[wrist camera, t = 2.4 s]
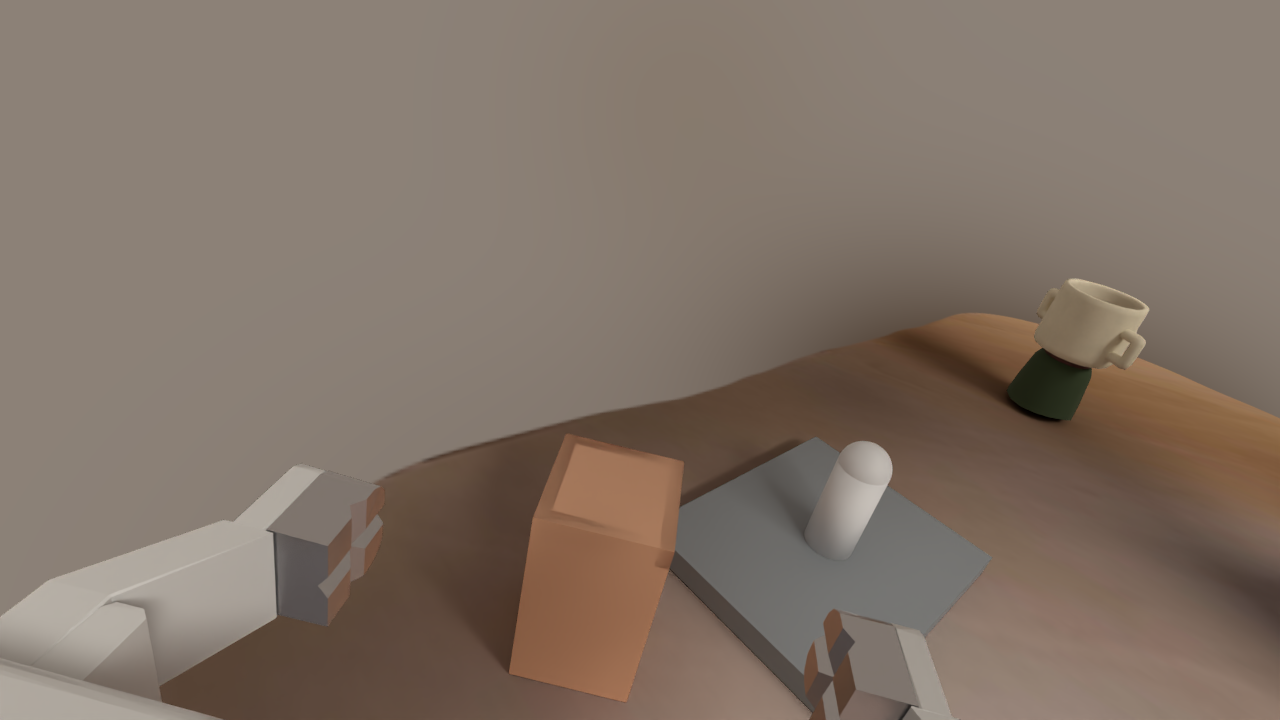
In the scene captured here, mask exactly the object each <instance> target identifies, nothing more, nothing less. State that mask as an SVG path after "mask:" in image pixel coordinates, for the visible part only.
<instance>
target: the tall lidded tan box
mask: <svg viewBox="0 0 1280 720" xmlns="http://www.w3.org/2000/svg"><path fill="white" fill-rule="evenodd" d="M683 468H684V462H683V461H679V460H675V459H671V458H667V457H663V456H659V455H654V454H650V453H646V452H642V451H638V450H634V449H630V448H625V447H621V446H617V445H613V444H609V443H605V442H601V441H596V440H592V439H588V438H584V437H580V436H576V435H572V434H568V433H566V435H565V438H564V440H563V443H562V445H561V448H560V450H559V453H558V455H557V458H556V460H555V463H554V465H553V468H552V470H551V473H550V476H549V478H548V481H547V483H546V486H545V488H544V491H543V493H542V496H541V498H540V501H539V503H538V506H537V508H536V511H535V513H534V516H533V520H532V526H531V533H530V539H529V546H528V552H527V559H526V565H525V572H524V578H523V585H522V591H521V598H520V604H519V611H518V617H517V624H516V630H515V637H514V643H513V650H512V656H511V662H510V669H509V674H512V675H516V676H520V677H524V678H528V679H532V680H536V681H540V682H544V683H548V684H552V685H557V686H561V687H565V688H569V689H573V690H577V691H581V692H585V693H589V694H593V695H597V696H601V697H605V698H609V699H613V700H617V701H621V702H625V703H626V702H627V699H628V696H629V693H630V690H631V687H632V683H633V680H634V677H635V674H636V671H637V668H638V665H639V662H640V659H641V655H642V652H643V649H644V646H645V643H646V640H647V637H648V634H649V630H650V627H651V624H652V621H653V618H654V615H655V612H656V609H657V606H658V602H659V599H660V596H661V593H662V590H663V587H664V584H665V581H666V578H667V574H668V571H669V568H670V565H671V562H672V559H673V556H674V553H675V544H676V535H677V525H678V516H679V506H680V497H681V487H682V478H683Z"/></svg>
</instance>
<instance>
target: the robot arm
mask: <svg viewBox="0 0 1280 720" xmlns="http://www.w3.org/2000/svg"><path fill="white" fill-rule="evenodd" d="M384 504H385V489H383V488H382V487H381V486H378V485H375V484H372V483H368V482H364V481H361V480H358V479H354V478H351V477H348V476H345V475H341V474H338V473H334V472H331V471H325V470H322V469H319V468H315V467H312V466H308V465H306V464H302V463H301V464H298V465H295V466H293V467H291V468H290V469H289V470H288V471H287V472H286V473H285V474H284V475H283V476H281V477H280V478H279V479H278V480H277V481H276V482H275V483H274V484H273V485H272V486H271V487H270V488H269V489H267V490H266V491H265V492H264V493H263V494H262V495H261V496H260V497H259V498H258V499H257V500H256V501H254V503H252V504H251V505H250V506H249V507H248V508H247V509H246V510H245V511H244V512H243V513H242V514H240V515H239V516H238V517H237V518H236V519H235V520H234V521H233V522H231V521H227V520H222V521H219V522H216V523H213V524H210V525H207V526H204V527H201V528H199V529H196V530H192V531H190V532H187V533H184V534H181V535H178V536H175V537H172V538H170V539H166V540H163V541H160V542H158V543H155V544H152V545H149V546H146V547H143V548H140V549H137V550H134V551H132V552H129V553H125V554H123V555H120V556H117V557H114V558H111V559H108V560H105V561H103V562H99V563H96V564H93V565H90V566H88V567H85V568H82V569H79V570H76V571H73V572H70V573H67V574H64V575H61V576H58V577H56V578H53V579H50V580H48V581H46V582H45V583H44V584H42V585H41V586H40V587H39V588H37V589H36V590H35V591H33V592H32V593H31V594H29V595H28V596H27V597H25V598H24V599H23V600H21V601H20V602H19V603H18V604H16V605H15V606H14V607H12V608H11V609H10V610H8V611H7V612H6V613H4V614H3V615H2V616H0V720H224V719H221V718H217V717H213V716H210V715H206V714H203V713H199V712H195V711H192V710H188V709H184V708H181V707H177V706H173V705H170V704H166V703H162V698H161V693H160V688H159V686H161V685H163V684H164V683H166V682H168V681H169V680H171V679H173V678H175V677H176V676H178V675H180V674H181V673H183V672H185V671H187V670H188V669H190V668H192V667H193V666H195V665H197V664H198V663H200V662H202V661H204V660H205V659H207V658H209V657H210V656H212V655H214V654H216V653H217V652H219V651H221V650H222V649H224V648H226V647H227V646H229V645H231V644H233V643H234V642H236V641H238V640H239V639H241V638H243V637H245V636H246V635H248V634H250V633H251V632H253V631H255V630H257V629H258V628H260V627H262V626H263V625H265V624H267V623H268V622H270V621H272V620H274V619H275V618H277V615H281V616H285V617H290V618H294V619H298V620H302V621H306V622H310V623H314V624H319V625H323V626H327V627H328V625H329V624H330V622H331V621H332V620H333V618H334V617H335V615H336V614H337V613H338V611H339V610H340V608H341V607H342V606H343V604H344V603H345V601H346V600H347V599H348V597H349V596H350V582H352V581H354V580H356V579H358V578H360V577H362V576H364V574H365V573H366V572H367V570H368V569H369V567H370V566H371V564H372V563H373V560H374V558H375V556H376V554H377V551H378V549H379V547H380V543H381V539H382V535H383V522H382V521H381V519H380V517H379V516H378V512H379V511H380V510H381V508H382V507H383V506H384ZM823 625H824V632H825V635H823V636H821V637H819V638H817V639H815V640H814V641H813V643H812V645H811V647H810V650H809V652H808V654H807V659H806V664H805V669H804V686H805V695H806V697H807V698H808V700H809V701H810V703H811V704H812V706H813V707H814V708H815V710H814V712H813V714H812V716H811V717H810V719H809V720H960V719H957V718H953V717H952V714H951V711H950V709H949V706H948V703H947V700H946V697H945V694H944V692H943V689H942V686H941V683H940V680H939V677H938V675H937V672H936V669H935V666H934V663H933V661H932V658H931V655H930V652H929V649H928V646H927V644H926V641H925V638H924V636H923V634H922V633H921V632H920V631H919V630H916V629H913V628H909V627H905V626H901V625H897V624H893V623H887V622H884V621H880V620H877V619H873V618H869V617H865V616H861V615H857V614H854V613H850V612H846V611H842V610H838V609H833V610H832V611H830V612H829V613H828V615H827V617H826V618H825V620H824V622H823Z"/></svg>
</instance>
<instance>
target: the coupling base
mask: <svg viewBox="0 0 1280 720" xmlns="http://www.w3.org/2000/svg"><path fill="white" fill-rule="evenodd" d="M892 469H893V468H892V462H891V459H890V457H889V455H888V454H887V452H886V451H885V450H884V449H883V448H882V447H880V446H879V445H877V444H875V443H873V442H869V441H857V442H854V443H851V444H849V445H848V446H846V447H845V448H844V449H843V450H842V451H841V453H839V452H838V451H836V450H835V449H833V448H832V447H831V446H829V445H828V444H826V443H825V442H823V441H822V440H820V439H819V438H817V437H814V438H812V439H810V440H808V441H806V442H804V443H802V444H801V445H799V446H797V447H795V448H793V449H791V450H789V451H787V452H785V453H783V454H781V455H779V456H777V457H775V458H774V459H772V460H770V461H768V462H766V463H764V464H762V465H760V466H758V467H756V468H754V469H752V470H750V471H749V472H747V473H745V474H743V475H741V476H739V477H737V478H735V479H733V480H731V481H729V482H727V483H725V484H723V485H722V486H720V487H718V488H716V489H714V490H712V491H710V492H708V493H706V494H704V495H702V496H700V497H698V498H697V499H695V500H693V501H691V502H689V503H687V504H685V505H683V506H681V507H679V516H678V525H677V535H676V544H675V553H674V556H673V559H672V562H671V565H670V569H671V570H672V571H673V572H674V573H675V574H676V575H677V576H678V577H679V578H680V579H681V580H682V581H683V582H684V583H685V584H686V585H687V586H688V587H689V588H690V589H691V590H692V591H693V592H694V593H695V594H696V595H697V596H698V597H699V598H700V599H701V600H702V601H703V602H704V603H705V604H706V605H707V606H708V607H709V608H710V609H711V610H712V611H713V612H714V613H715V615H716V616H717V617H718V618H719V619H720V620H721V621H722V622H723V623H724V624H725V625H726V626H727V627H728V628H729V629H730V630H731V631H732V632H733V633H734V634H735V635H736V636H737V637H738V638H739V639H740V640H741V641H742V642H743V643H744V644H745V645H746V646H747V647H748V648H749V649H750V650H751V651H752V652H753V653H754V654H755V655H756V656H757V657H758V658H759V659H760V660H761V661H762V662H763V663H764V664H765V665H766V666H767V667H768V668H769V669H770V670H771V671H772V672H773V673H774V674H775V675H776V676H777V677H778V678H779V679H780V680H781V681H782V682H783V683H784V684H785V685H786V686H787V687H788V688H789V689H790V690H791V691H792V692H793V693H794V694H795V695H796V696H797V697H798V698H799V699H800V700H801V701H802V702H803V703H804V704H805V705H806V706H807V707H808V708H809V709H810V710H811V711H812V712H814V710H815V708H814V707H813V706H812V704H811V703H810V701H809V700H808V698H807V697H806V695H805V686H804V669H805V664H806V659H807V654H808V652H809V650H810V647H811V645H812V643H813V641H814V640H815V639H817V638H819V637H821V636H823V635H825V632H824V625H823V622H824V620H825V618H826V617H827V615H828V613H829V612H830V611H832V610H833V609H838V610H842V611H846V612H850V613H854V614H857V615H861V616H865V617H869V618H873V619H877V620H880V621H884V622H887V623H893V624H897V625H901V626H905V627H909V628H913V629H916V630H919V631H920V632H921V633H922V634H923V636H924V638H925V637H926V636H927V634H928V633H929V632H930V631H931V630H932V629H933V628H934V626H935V625H936V624H937V623H938V622H939V621H940V620H941V619H942V617H943V616H944V615H945V614H946V613H947V612H948V611H949V610H950V608H951V607H952V606H953V605H954V604H955V603H956V602H957V600H958V599H959V598H960V597H961V596H962V595H963V594H964V593H965V591H966V590H967V589H968V588H969V587H970V586H971V585H972V584H973V582H974V581H975V580H976V579H977V578H978V577H979V576H980V575H981V573H982V572H983V570H984V569H985V568H986V566H987V565H988V563H989V562H990V560H991V559H992V557H991V556H989V555H988V554H986V553H985V552H983V551H982V550H981V549H979V548H978V547H976V546H975V545H973V544H972V543H970V542H969V541H967V540H966V539H964V538H963V537H962V536H960V535H959V534H957V533H956V532H954V531H953V530H951V529H950V528H948V527H947V526H946V525H944V524H943V523H941V522H940V521H938V520H937V519H935V518H934V517H932V516H931V515H930V514H928V513H927V512H925V511H924V510H922V509H921V508H919V507H918V506H916V505H915V504H914V503H912V502H911V501H909V500H908V499H906V498H905V497H903V496H902V495H900V494H899V493H898V492H896V491H895V490H893V489H892V488H890V487H889V486H887V485H888V483H889V481H890V479H891V476H892Z"/></svg>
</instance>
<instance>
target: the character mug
mask: <svg viewBox="0 0 1280 720" xmlns="http://www.w3.org/2000/svg"><path fill="white" fill-rule="evenodd" d="M1148 311H1149V308H1148V307H1147V306H1146V305H1145V304H1144V303H1142V302H1141V301H1139V300H1137V299H1136V298H1134V297H1132V296H1129V295H1127V294H1125V293H1123V292H1120V291H1118V290H1115V289H1112V288H1109V287H1107V286H1104V285H1100V284H1097V283H1093V282H1090V281H1085V280H1080V279H1067V280H1066V281H1065V282H1064V284H1063V285H1062V287H1061V288H1060V290H1059V289H1056V288H1052V289H1051V290H1049V291H1048V292H1047V294H1046V296H1045V297H1044V299H1043V301H1042V303H1041V304H1040V306H1039V308H1038V310H1037V315H1038V316H1039V317H1040V318H1041V319H1042V321H1041V323H1040V324H1039V326H1038V328H1037V329H1036V332H1035V335H1034V338H1035V341H1036V342H1037V343H1038V344H1039V345H1040V346H1041V347H1043V348H1042V349H1040V350H1038V351H1037V352H1035V354H1034V355H1033V356H1032V357H1031V359H1030V360H1029V361H1028V362H1027V363H1026V365H1025V366H1024V367H1023V368H1022V369H1021V371H1020V372H1019V373H1018V374H1017V376H1016V377H1015V379H1014V380H1013V381H1012V383H1011V384H1010V385H1009V387H1008V389H1007V392H1008V394H1009V397H1010V398H1011V399H1012V400H1013V401H1014V402H1016V403H1017V404H1018V405H1019V406H1021V407H1023V408H1025V409H1027V410H1030V411H1032V412H1034V413H1037V414H1040V415H1044V416H1045V417H1050V418H1056V419H1061V420H1071V419H1072V417H1073V415H1074V413H1075V411H1076V409H1077V407H1078V405H1079V404H1080V401H1081V399H1082V397H1083V395H1084V392H1085V390H1086V388H1087V386H1088V383H1089V381H1090V379H1091V373H1092V369H1091V368H1097V369H1101V368H1107V367H1109V366H1111V365H1112V364H1114V365H1115V366H1117V367H1118V368H1120V369H1124V370H1125V369H1127V368H1128V367H1129V366H1131V365H1132V364H1133V362H1134V361H1135V359H1136V358H1137V356H1138V355H1139V353H1140V352H1141V351H1142V349H1143V348H1144V346H1145V343H1146V341H1145V340H1144V338H1143V337H1142V336H1140V335H1138V334H1136V333H1137V330H1138V328H1139V326H1140V325H1141V323H1142V322H1143V320H1144V318H1145V317H1146V315H1147V313H1148ZM1129 343H1130V346H1129V347H1128V348H1127V346H1128V345H1129ZM1126 348H1127V350H1126ZM1125 350H1126V351H1125ZM1124 351H1125V353H1124ZM1123 353H1124V354H1123ZM1122 354H1123V356H1122Z"/></svg>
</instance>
